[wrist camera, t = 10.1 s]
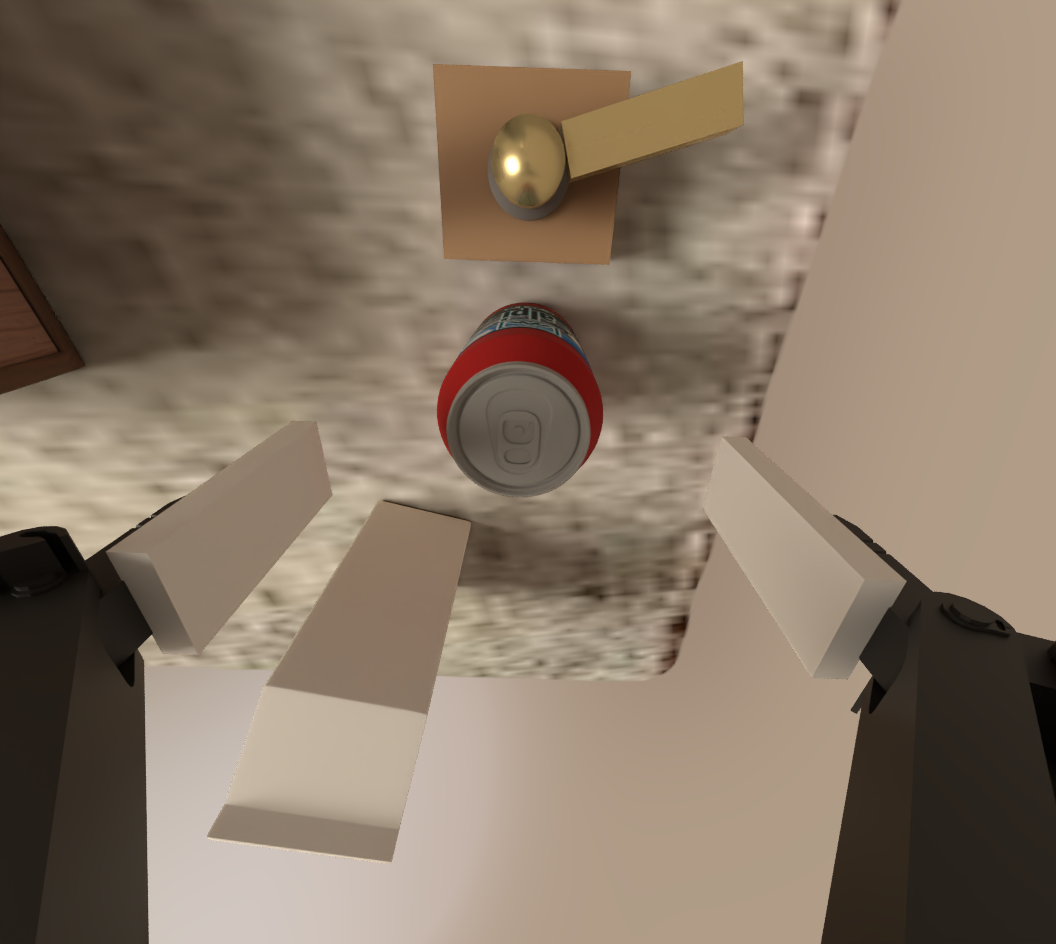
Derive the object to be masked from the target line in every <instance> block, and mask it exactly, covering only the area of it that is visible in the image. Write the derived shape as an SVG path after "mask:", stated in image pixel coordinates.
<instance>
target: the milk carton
mask: <svg viewBox="0 0 1056 944" xmlns="http://www.w3.org/2000/svg"><path fill="white" fill-rule="evenodd" d="M470 528H471V523H470V522H469V521H465V520H461V519H457V518H453V517H449V516H444V515H440V514H436V513H432V512H427V511H423V510H419V509H414V508H410V507H406V506H402V505H397V504H393V503H389V502H384V501H378V502H377V503H376V505H375V507H374V508H373V510H372V511H371V513H370V515H369V516H368V518H367V520H366V521H365V523H364V524H363V526H362V528H361V529H360V531H359V533H358V534H357V536H356V538H355V539H354V541H353V542H352V544H351V546H350V547H349V549H348V551H347V552H346V554H345V555H344V557H343V559H342V560H341V562H340V564H339V565H338V567H337V568H336V570H335V572H334V573H333V575H332V577H331V578H330V580H329V581H328V583H327V585H326V586H325V588H324V590H323V591H322V593H321V595H320V596H319V598H318V599H317V601H316V603H315V604H314V606H313V608H312V609H311V611H310V612H309V614H308V616H307V617H306V619H305V621H304V622H303V624H302V625H301V627H300V629H299V630H298V632H297V634H296V635H295V637H294V638H293V640H292V642H291V643H290V645H289V647H288V648H287V650H286V652H285V653H284V655H283V656H282V658H281V660H280V661H279V663H278V665H277V666H276V668H275V669H274V671H273V673H272V675H271V676H270V678H269V679H268V681H267V683H266V684H265V686H264V687H263V689H262V692H261V695H260V698H259V701H258V704H257V707H256V710H255V713H254V716H253V719H252V722H251V725H250V728H249V731H248V734H247V737H246V740H245V743H244V746H243V750H242V753H241V755H240V759H239V762H238V764H237V768H236V771H235V773H234V777H233V780H232V783H231V786H230V789H229V792H228V795H227V798H226V801H225V804H224V806H223V808H222V810H221V811H220V813H219V815H218V817H217V819H216V820H215V822H214V824H213V826H212V828H211V829H210V831H209V833H208V835H207V839H209V840H214V841H222V842H229V843H236V844H244V845H251V846H259V847H267V848H274V849H281V850H289V851H296V852H303V853H311V854H318V855H326V856H333V857H340V858H348V859H355V860H362V861H370V862H377V863H385V864H390V863H391V862H392V858H393V854H394V850H395V845H396V841H397V837H398V832H399V828H400V824H401V820H402V816H403V812H404V808H405V804H406V799H407V796H408V792H409V788H410V784H411V780H412V776H413V772H414V767H415V763H416V759H417V755H418V751H419V747H420V743H421V739H422V735H423V731H424V727H425V723H426V719H427V715H428V710H429V706H430V702H431V697H432V693H433V689H434V684H435V680H436V676H437V671H438V667H439V663H440V658H441V654H442V649H443V645H444V641H445V636H446V632H447V628H448V623H449V619H450V615H451V610H452V606H453V602H454V597H455V593H456V589H457V584H458V580H459V576H460V571H461V567H462V563H463V558H464V554H465V550H466V545H467V541H468V536H469V532H470Z"/></svg>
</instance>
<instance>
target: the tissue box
mask: <svg viewBox="0 0 1056 944" xmlns="http://www.w3.org/2000/svg"><path fill="white" fill-rule="evenodd" d="M83 366H85V365H84V363H83V361H82V359H81V358H80V356H79V354H78V352H77V351H76V349H75V347H74V346H73V344H72V342H71V341H70V339H69V337H68V336H67V334H66V333H65V331H64V329H63V328H62V326H61V324H60V323H59V321H58V319H57V318H56V316H55V314H54V313H53V311H52V309H51V308H50V306H49V304H48V303H47V301H46V300H45V298H44V296H43V295H42V293H41V291H40V290H39V288H38V286H37V285H36V283H35V281H34V280H33V278H32V276H31V275H30V273H29V271H28V270H27V268H26V267H25V265H24V263H23V262H22V260H21V258H20V257H19V255H18V253H17V252H16V250H15V248H14V247H13V245H12V243H11V242H10V240H9V238H8V237H7V235H6V234H5V232H4V230H3V229H2V227H1V225H0V394H3V393H6V392H10V391H13V390H16V389H19V388H22V387H25V386H28V385H31V384H34V383H37V382H40V381H43V380H47V379H49V378H52V377H55V376H58V375H61V374H64V373H67V372H70V371H73V370H75V369H78V368H80V367H83Z"/></svg>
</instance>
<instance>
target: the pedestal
mask: <svg viewBox="0 0 1056 944" xmlns="http://www.w3.org/2000/svg"><path fill="white" fill-rule="evenodd" d="M433 71H434V89H435V106H436V123H437V141H438V158H439V175H440V193H441V210H442V227H443V245H444V259H467V260H495V261H523V262H551V263H579V264H607V265H609V264H610V255H611V246H612V237H613V228H614V220H615V211H616V202H617V193H618V184H619V175H620V167H619V168H616V169H613V170H610V171H606V172H603V173H600V174H597V175H593V176H590V177H587V178H584V179H581V180H577V181H574V182H571V183H568V177H567V172H566V166H565V168H564V173H563V176H562V179H561V182H560V184H559V187H558V189H557V191H556V193H555V194H554V196H553V197H552V198H551V199H550V200H549V201H548V202H547V203H546V204H544V205H542V206H541V207H538V208H534V209H523V208H520V207H517V206H515V205H514V204H512V203H511V202H510V201H509V200H508V199H507V198H506V197H505V196H504V194H503V193H502V191H501V190H500V188H499V186H498V185H497V183H496V180H495V178H494V175H493V171H492V164H491V155H492V148H493V144H494V141H495V138H496V136H497V134H498V132H499V131H500V129H501V128H502V127H503V126H504V124H505V123H507V122H508V121H509V120H510V119H512V118H514V117H516V116H518V115H522V114H535V115H539V116H541V117H543V118H545V119H546V120H548V121H549V122H550V123H551V124H552V125H553V126H554V127H555V128H556V130H557V131H558V133H559V135H560V132H559V130H560V125H561V121H564V120H567V119H570V118H573V117H576V116H579V115H582V114H585V113H588V112H591V111H594V110H597V109H600V108H603V107H606V106H609V105H612V104H615V103H618V102H621V101H624V100H627V99H628V94H629V85H630V77H631V71H609V70H581V69H554V68H526V67H498V66H471V65H443V64H433Z"/></svg>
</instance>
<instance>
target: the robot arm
mask: <svg viewBox="0 0 1056 944" xmlns="http://www.w3.org/2000/svg"><path fill="white" fill-rule="evenodd" d="M331 496H332V491H331V486H330V482H329V477H328V473H327V468H326V463H325V459H324V454H323V450H322V445H321V441H320V436H319V432H318V427H317V423H316V422H308V421H292V422H290V423H289V424H288V425H286V426H285V427H283V428H282V429H280V430H279V431H278V432H276V433H275V434H273V435H272V436H270V437H269V438H268V439H266V440H265V441H263V442H262V443H260V444H259V445H258V446H256V447H255V448H253V449H252V450H250V451H249V452H248V453H246V454H245V455H243V456H242V457H241V458H239V459H238V460H236V461H235V462H233V463H232V464H231V465H229V466H228V467H226V468H225V469H223V470H222V471H221V472H219V473H218V474H216V475H215V476H213V477H212V478H211V479H209V480H208V481H206V482H205V483H203V484H202V485H201V486H199V487H198V488H196V489H195V490H193V491H192V492H191V493H189V494H188V495H186V496H184V497H181V498H179V499H177V500H175V501H172V502H170V503H168V504H167V505H165V506H164V507H162V508H161V509H160V510H158V511H157V512H155V513H154V514H152V515H151V518H146V519H145V520H144V521H142V522H141V523H139V524H138V525H136V528H132V529H130V530H129V531H128V532H126V533H125V534H123V535H122V536H120V537H119V538H117V539H116V540H114V541H113V542H112V543H110V544H109V545H107V546H106V547H104V548H103V549H101V550H100V551H98V552H97V553H96V554H94V555H93V556H91V557H90V558H88V559H87V560H84V558H83V557H82V555H81V553H80V552H79V550H78V548H77V547H76V545H75V543H74V542H73V540H72V538H71V537H70V535H69V533H68V532H67V530H66V529H65V528H61V527H58V526H44V527H36V528H31V529H25V530H21V531H17V532H14V533H11V534H7V535H4V536H1V537H0V944H149V936H148V935H149V933H148V877H147V876H148V873H147V813H146V759H145V758H146V756H145V755H146V754H145V696H144V695H145V693H144V660H143V658H142V656H141V654H140V652H139V650H138V648H139V647H140V646H141V645H142V644H143V643H144V642H145V641H146V640H147V639H148V638H149V637H150V636H151V635H152V636H153V637H154V639H155V641H156V643H157V645H158V646H159V648H160V650H161V652H162V653H163V654H177V655H199V654H200V653H201V652H202V651H203V649H204V648H205V647H206V646H207V645H208V643H209V642H210V641H211V640H212V639H213V637H214V636H215V635H216V634H217V633H218V631H219V630H220V629H221V628H222V627H223V625H224V624H225V623H226V622H227V621H228V619H229V618H230V617H231V616H232V615H233V613H234V612H235V611H236V610H237V609H238V607H239V606H240V605H241V604H242V603H243V601H244V600H245V599H246V598H247V597H248V595H249V594H250V593H251V592H252V591H253V589H254V588H255V587H256V586H257V585H258V583H259V582H260V581H261V580H262V579H263V577H264V576H265V575H266V574H267V573H268V571H269V570H270V569H271V568H272V567H273V565H274V564H275V563H276V562H277V561H278V559H279V558H280V557H281V556H282V555H283V553H284V552H285V551H286V550H287V549H288V547H289V546H290V545H291V544H292V543H293V541H294V540H295V539H296V538H297V537H298V535H299V534H300V533H301V532H302V531H303V529H304V528H305V527H306V526H307V525H308V523H309V522H310V521H311V520H312V519H313V517H314V516H315V515H316V514H317V513H318V511H319V510H320V509H321V508H322V507H323V505H324V504H325V503H326V502H327V501H328V500H329V498H330V497H331ZM703 510H704V511H705V513H706V514H707V516H708V517H709V519H710V520H711V522H712V524H713V525H714V527H715V528H716V530H717V531H718V533H719V534H720V536H721V538H722V539H723V541H724V542H725V544H726V545H727V547H728V548H729V550H730V552H731V553H732V555H733V556H734V558H735V559H736V561H737V562H738V564H739V565H740V567H741V569H742V570H743V572H744V573H745V575H746V576H747V578H748V580H749V581H750V583H751V584H752V586H753V587H754V589H755V590H756V592H757V594H758V595H759V597H760V598H761V600H762V601H763V603H764V604H765V606H766V608H767V609H768V611H769V612H770V614H771V615H772V617H773V618H774V620H775V622H776V623H777V625H778V626H779V628H780V629H781V631H782V633H783V634H784V635H785V637H786V639H787V640H788V642H789V643H790V645H791V647H792V648H793V650H794V651H795V653H796V654H797V656H798V657H799V659H800V661H801V662H802V664H803V665H804V667H805V668H806V670H807V671H808V673H809V675H810V676H811V677H812V678H824V679H825V678H826V679H848V678H849V676H850V675H851V673H852V671H853V670H854V668H855V666H856V665H857V663H858V661H859V660H861V662H862V663H863V664H864V665H865V667H866V668H867V669H868V670H869V671H870V673H871V674H872V675H873V676H872V677H871V679H870V680H869V682H868V684H867V685H866V687H865V688H864V690H863V691H862V693H861V694H860V696H859V698H858V699H857V701H856V702H855V704H854V706H853V707H852V708H851V711H852V712H854V713H856V714H857V713H858V711H859V710H860V708H861V713H860V719H859V726H858V731H857V737H856V742H855V748H854V754H853V760H852V766H851V772H850V777H849V783H848V789H847V795H846V801H845V807H844V812H843V818H842V824H841V830H840V835H839V841H838V847H837V853H836V859H835V864H834V871H833V876H832V882H831V888H830V894H829V899H828V905H827V911H826V917H825V923H824V929H823V935H822V941H821V944H1056V641H1055V642H1054V641H1050V640H1046V639H1042V638H1037V637H1034V636H1030V635H1025V634H1021V633H1017V632H1016V631H1015V629H1014V628H1013V627H1012V626H1011V625H1010V624H1009V623H1008V622H1006V621H1005V620H1004V619H1003V618H1002V617H1001V616H999V615H998V614H996V613H994V612H993V611H991V610H989V609H988V608H986V607H985V606H982V605H980V604H978V603H976V602H974V601H971V600H969V599H967V598H964V597H960V596H957V595H953V594H950V593H942V592H933V591H931V590H930V589H929V588H928V587H927V586H925V584H923V583H922V582H921V581H920V580H919V579H918V578H916V577H915V576H914V575H913V574H912V573H911V572H909V571H908V570H907V569H906V568H905V567H904V566H903V565H901V564H900V563H899V562H898V561H897V560H896V559H894V558H893V557H892V556H891V555H889V554H886V551H885V550H884V549H883V548H882V547H881V546H879V545H878V544H877V543H873V540H872V539H871V538H870V537H869V536H868V535H867V534H865V533H864V532H863V531H862V530H861V529H860V528H858V527H857V526H855V525H853V524H852V523H850V522H848V521H846V520H845V519H843V518H841V517H839V516H837V515H832V514H831V513H830V512H829V511H828V510H826V509H825V508H824V507H823V506H822V505H821V504H820V503H819V502H817V501H816V500H815V499H814V498H813V497H812V496H811V495H809V493H807V492H806V491H805V490H804V489H803V488H802V487H801V486H800V485H798V484H797V483H796V482H795V481H794V480H793V479H792V478H791V477H790V476H788V475H787V474H786V473H785V472H784V471H783V470H782V469H781V468H780V467H778V466H777V465H776V464H775V463H774V462H773V461H772V460H771V459H769V458H768V457H767V456H766V455H765V454H764V453H763V452H762V451H761V450H759V449H758V448H757V447H756V446H755V445H754V444H753V443H752V442H751V441H749V440H748V439H747V438H746V437H722V439H721V443H720V446H719V450H718V454H717V457H716V461H715V465H714V469H713V472H712V476H711V480H710V483H709V487H708V491H707V494H706V498H705V502H704V505H703Z"/></svg>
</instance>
